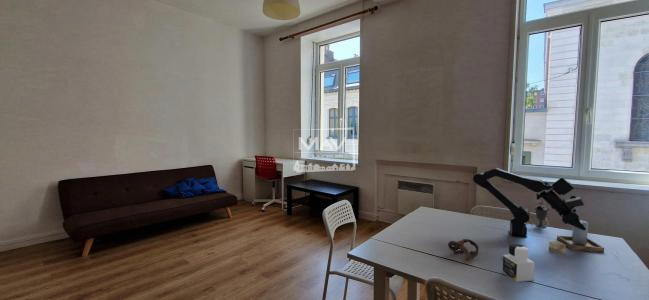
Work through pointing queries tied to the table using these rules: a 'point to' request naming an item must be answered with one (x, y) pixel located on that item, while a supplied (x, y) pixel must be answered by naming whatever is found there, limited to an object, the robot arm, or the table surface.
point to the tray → (573, 246)
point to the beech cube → (557, 247)
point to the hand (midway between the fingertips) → (584, 227)
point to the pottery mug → (460, 246)
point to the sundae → (541, 214)
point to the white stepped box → (518, 263)
